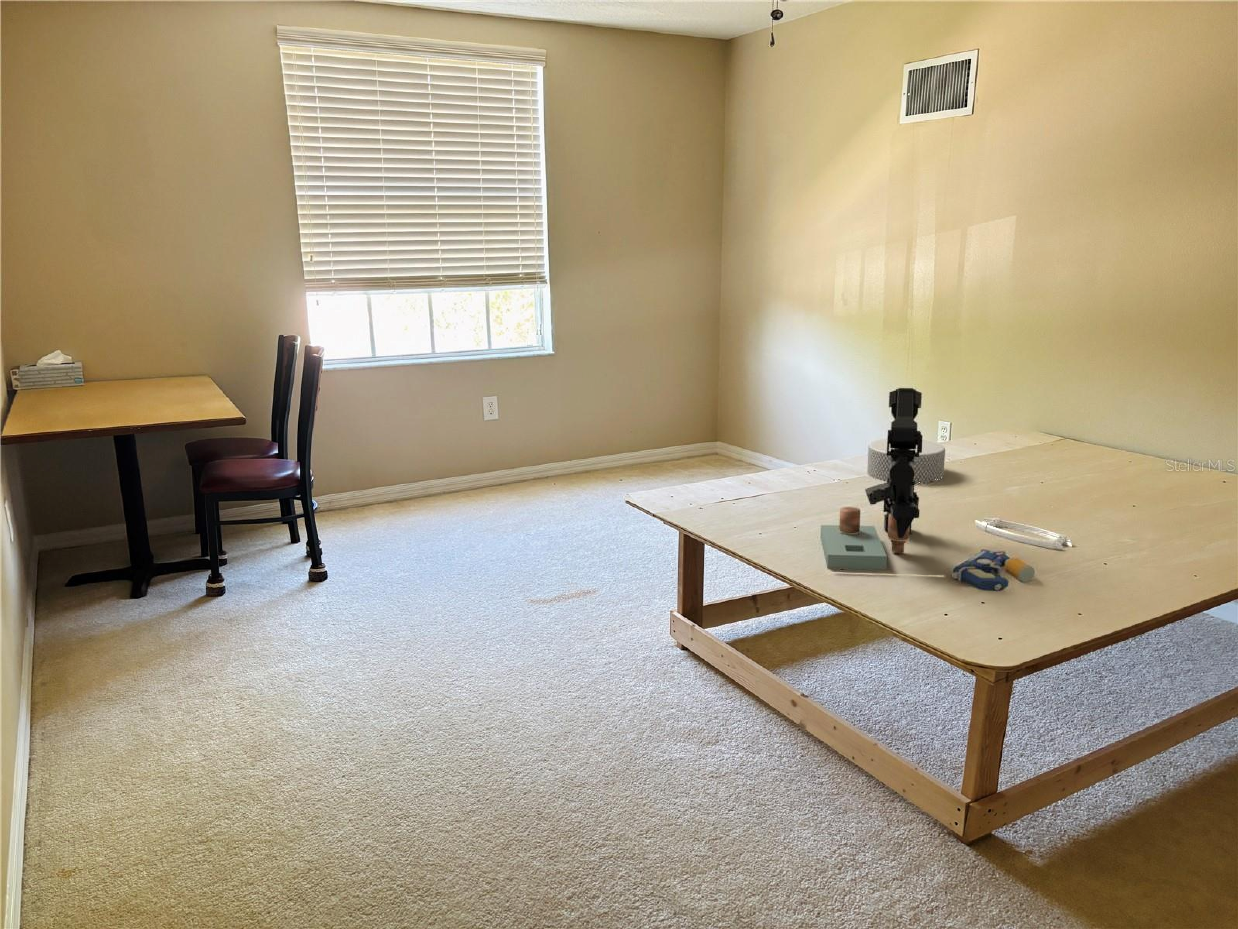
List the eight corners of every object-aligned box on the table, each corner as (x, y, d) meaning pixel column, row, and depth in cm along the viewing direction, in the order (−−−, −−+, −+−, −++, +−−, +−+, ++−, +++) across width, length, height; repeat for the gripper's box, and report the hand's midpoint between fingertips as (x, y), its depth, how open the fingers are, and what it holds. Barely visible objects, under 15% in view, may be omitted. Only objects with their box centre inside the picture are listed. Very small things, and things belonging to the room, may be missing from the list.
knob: (882, 462, 306) (856, 477, 287) (883, 435, 304) (857, 449, 285) (952, 471, 292) (930, 488, 272) (954, 442, 289) (931, 457, 270)
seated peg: (858, 540, 224) (859, 507, 222) (860, 547, 219) (861, 513, 217) (837, 540, 225) (838, 506, 222) (839, 547, 220) (840, 512, 217)
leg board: (873, 540, 226) (874, 526, 225) (886, 571, 204) (886, 556, 203) (820, 538, 228) (820, 525, 227) (827, 570, 206) (827, 554, 205)
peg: (906, 547, 216) (908, 512, 214) (910, 554, 211) (912, 519, 209) (885, 547, 217) (887, 512, 215) (888, 554, 212) (890, 518, 210)
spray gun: (1045, 573, 200) (983, 559, 211) (1047, 556, 199) (984, 543, 210) (1008, 601, 187) (943, 584, 197) (1009, 583, 185) (944, 567, 196)
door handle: (989, 523, 238) (1077, 545, 218) (968, 530, 232) (1057, 554, 212) (990, 514, 237) (1078, 536, 217) (969, 521, 232) (1058, 544, 212)
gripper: (863, 465, 219) (861, 522, 223) (873, 484, 201) (870, 545, 205) (907, 465, 218) (904, 522, 221) (921, 485, 200) (917, 547, 204)
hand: (898, 534), depth 213 cm, fingers closed on peg, 5 cm apart
